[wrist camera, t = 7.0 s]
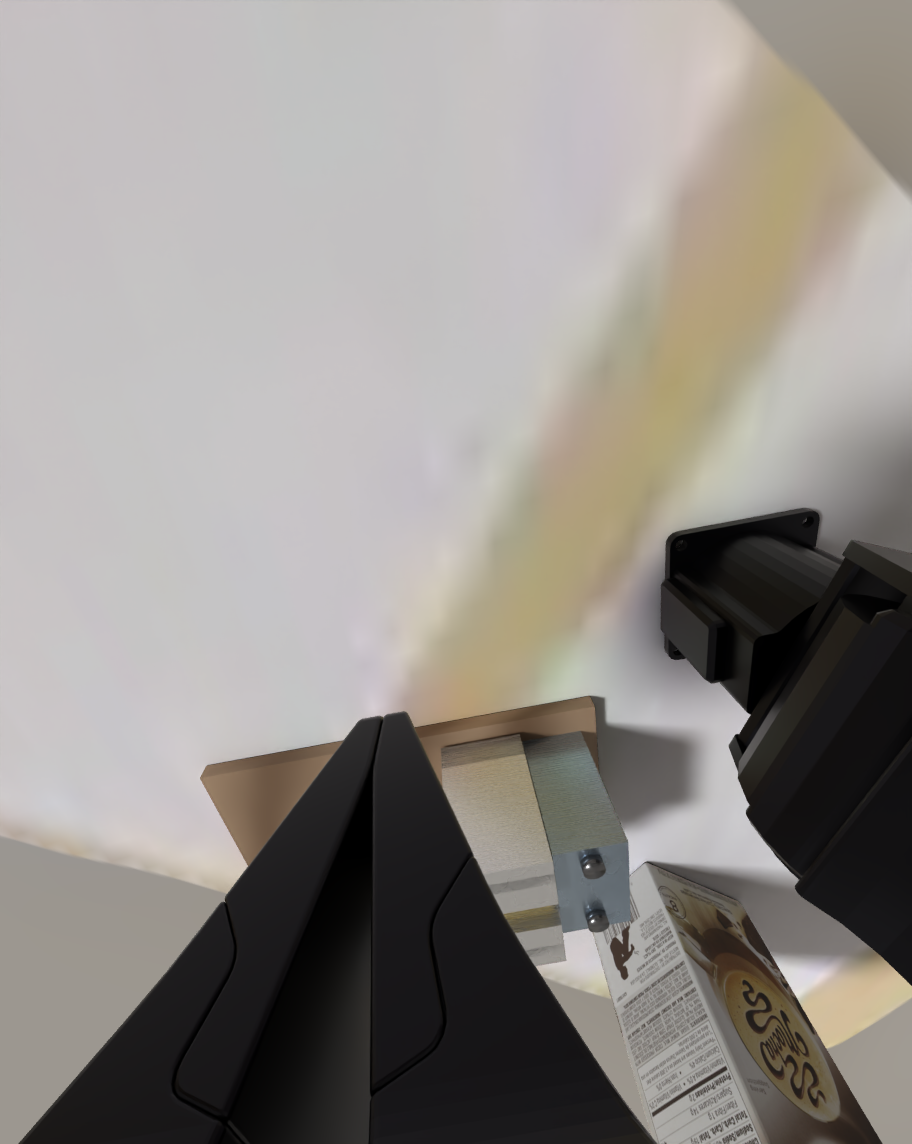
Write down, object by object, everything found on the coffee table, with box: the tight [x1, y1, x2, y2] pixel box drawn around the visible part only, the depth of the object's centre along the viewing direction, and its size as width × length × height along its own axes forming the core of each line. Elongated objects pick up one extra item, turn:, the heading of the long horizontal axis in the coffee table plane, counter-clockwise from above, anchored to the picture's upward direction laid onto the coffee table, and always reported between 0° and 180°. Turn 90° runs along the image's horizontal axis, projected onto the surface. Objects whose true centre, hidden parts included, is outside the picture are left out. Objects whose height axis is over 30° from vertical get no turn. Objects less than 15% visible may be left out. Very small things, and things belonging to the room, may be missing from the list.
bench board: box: [200, 696, 599, 866], centre depth 26 cm, size 20×8×1 cm, turn 100°
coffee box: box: [593, 863, 882, 1144], centre depth 25 cm, size 9×6×16 cm
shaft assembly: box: [522, 731, 631, 933], centre depth 22 cm, size 13×5×6 cm, turn 100°
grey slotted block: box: [441, 734, 566, 966], centre depth 22 cm, size 4×7×7 cm, turn 10°
